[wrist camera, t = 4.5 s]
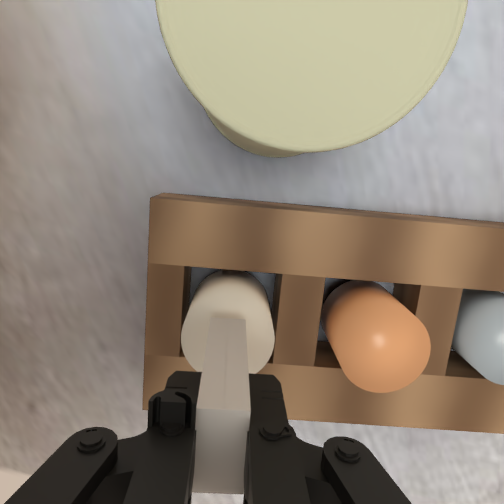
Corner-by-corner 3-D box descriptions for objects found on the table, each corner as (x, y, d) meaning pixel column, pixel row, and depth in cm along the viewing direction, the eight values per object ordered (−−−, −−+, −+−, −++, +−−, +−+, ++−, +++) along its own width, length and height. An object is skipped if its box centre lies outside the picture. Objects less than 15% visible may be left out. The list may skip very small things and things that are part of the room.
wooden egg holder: (155, 377, 27) (142, 409, 23) (163, 192, 24) (150, 197, 21) (513, 402, 28) (551, 436, 24) (557, 227, 25) (606, 237, 22)
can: (387, 20, 23) (545, -131, 11) (322, 180, 24) (397, 198, 13) (229, -49, 22) (214, -296, 10) (173, 122, 23) (105, 84, 12)
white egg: (190, 338, 24) (178, 379, 20) (195, 266, 23) (183, 291, 19) (264, 344, 24) (269, 385, 20) (272, 272, 23) (279, 298, 19)
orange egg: (316, 347, 25) (333, 389, 20) (326, 276, 24) (345, 304, 19) (389, 353, 25) (421, 395, 20) (401, 283, 24) (438, 311, 19)
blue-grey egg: (427, 344, 26) (465, 382, 22) (440, 279, 26) (482, 304, 21) (494, 349, 27) (545, 388, 22) (509, 284, 26) (565, 311, 21)
